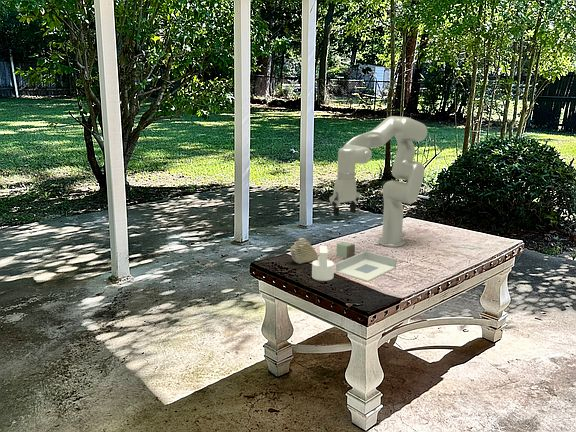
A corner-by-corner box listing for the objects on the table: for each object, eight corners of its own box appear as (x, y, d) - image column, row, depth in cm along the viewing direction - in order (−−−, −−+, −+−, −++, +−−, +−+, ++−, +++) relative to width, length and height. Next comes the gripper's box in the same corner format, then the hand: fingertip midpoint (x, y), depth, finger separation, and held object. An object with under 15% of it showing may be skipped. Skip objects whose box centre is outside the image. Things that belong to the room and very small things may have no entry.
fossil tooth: (320, 262, 245) (293, 266, 236) (311, 258, 250) (285, 261, 241) (323, 238, 243) (296, 241, 234) (314, 234, 247) (288, 237, 238)
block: (342, 253, 254) (342, 241, 252) (354, 257, 249) (354, 244, 248) (336, 256, 251) (336, 243, 249) (348, 259, 246) (349, 246, 244)
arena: (365, 259, 246) (365, 250, 245) (396, 268, 236) (396, 259, 235) (336, 272, 230) (336, 263, 229) (367, 281, 220) (368, 272, 219)
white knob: (311, 272, 230) (312, 245, 227) (333, 273, 230) (333, 246, 226) (312, 280, 221) (312, 252, 218) (334, 281, 221) (335, 253, 218)
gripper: (355, 172, 244) (353, 209, 249) (325, 176, 235) (324, 214, 239) (366, 175, 238) (364, 213, 243) (336, 179, 229) (334, 218, 233)
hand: (344, 214), depth 241 cm, fingers open, 9 cm apart
